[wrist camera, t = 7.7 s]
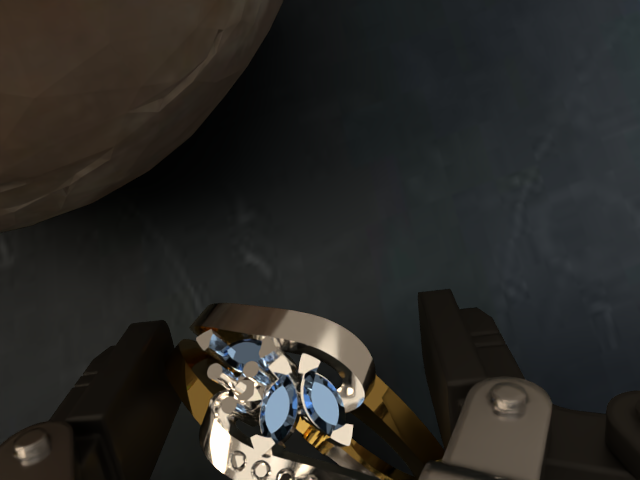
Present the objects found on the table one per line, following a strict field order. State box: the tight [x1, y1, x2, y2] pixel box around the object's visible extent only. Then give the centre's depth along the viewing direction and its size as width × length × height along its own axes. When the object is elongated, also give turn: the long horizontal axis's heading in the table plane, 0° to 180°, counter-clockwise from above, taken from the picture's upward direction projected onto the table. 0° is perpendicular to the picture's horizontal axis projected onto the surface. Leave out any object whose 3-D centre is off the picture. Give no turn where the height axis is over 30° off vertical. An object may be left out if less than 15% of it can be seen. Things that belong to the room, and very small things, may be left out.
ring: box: [165, 303, 445, 480], centre depth 13 cm, size 7×3×8 cm, turn 51°
